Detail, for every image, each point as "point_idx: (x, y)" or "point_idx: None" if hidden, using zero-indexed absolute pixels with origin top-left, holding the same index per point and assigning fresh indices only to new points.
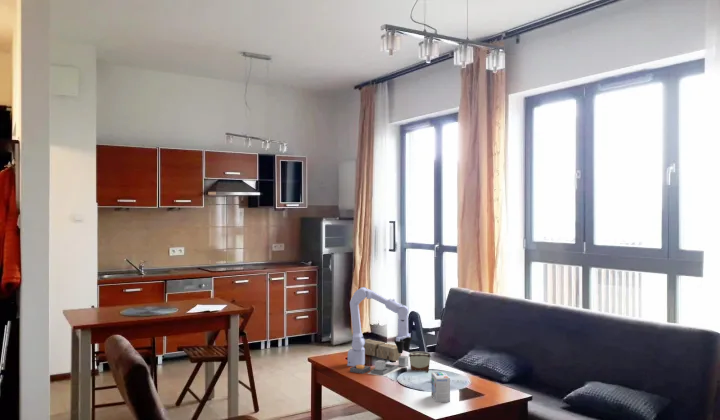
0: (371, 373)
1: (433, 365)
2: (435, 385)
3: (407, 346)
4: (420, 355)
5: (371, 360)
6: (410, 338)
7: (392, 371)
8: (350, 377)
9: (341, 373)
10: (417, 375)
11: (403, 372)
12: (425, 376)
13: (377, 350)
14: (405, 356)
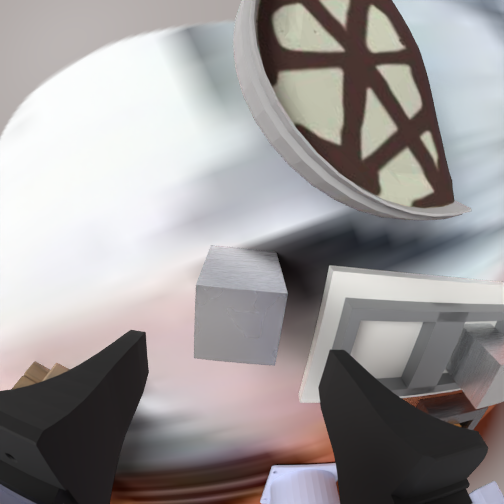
0: None
1: (72, 74)
2: None
3: (123, 375)
4: (408, 42)
5: (171, 470)
6: (37, 446)
7: (440, 293)
8: (493, 406)
9: None
10: (432, 96)
11: (394, 223)
12: (429, 39)
13: None
14: (211, 312)
